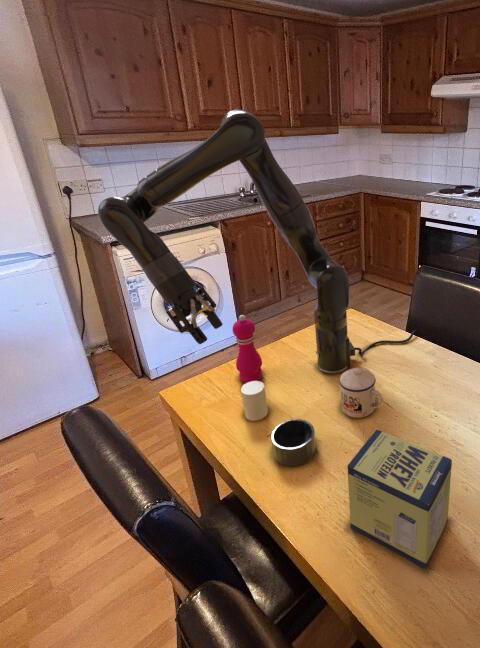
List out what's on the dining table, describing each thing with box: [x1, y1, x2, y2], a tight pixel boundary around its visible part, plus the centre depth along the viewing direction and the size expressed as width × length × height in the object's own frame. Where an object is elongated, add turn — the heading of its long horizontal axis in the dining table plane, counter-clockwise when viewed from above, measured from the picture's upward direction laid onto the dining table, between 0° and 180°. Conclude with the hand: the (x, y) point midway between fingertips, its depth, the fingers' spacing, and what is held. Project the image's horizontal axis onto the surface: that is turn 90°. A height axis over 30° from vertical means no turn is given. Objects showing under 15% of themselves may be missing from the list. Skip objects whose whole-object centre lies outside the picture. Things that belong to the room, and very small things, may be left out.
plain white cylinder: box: [240, 380, 269, 422], centre depth 104 cm, size 6×6×8 cm
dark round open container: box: [270, 418, 317, 468], centre depth 93 cm, size 9×9×5 cm
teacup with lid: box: [338, 367, 384, 419], centre depth 104 cm, size 12×9×12 cm
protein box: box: [346, 429, 453, 570], centre depth 74 cm, size 10×16×16 cm
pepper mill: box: [232, 314, 263, 383], centre depth 117 cm, size 7×7×20 cm
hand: (211, 334), depth 98 cm, fingers open, 8 cm apart
